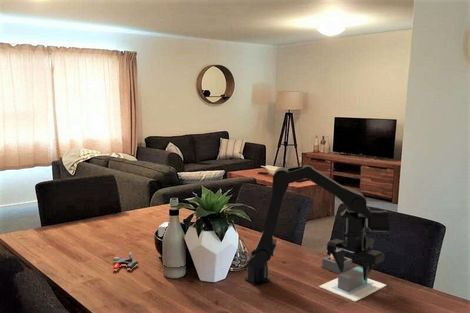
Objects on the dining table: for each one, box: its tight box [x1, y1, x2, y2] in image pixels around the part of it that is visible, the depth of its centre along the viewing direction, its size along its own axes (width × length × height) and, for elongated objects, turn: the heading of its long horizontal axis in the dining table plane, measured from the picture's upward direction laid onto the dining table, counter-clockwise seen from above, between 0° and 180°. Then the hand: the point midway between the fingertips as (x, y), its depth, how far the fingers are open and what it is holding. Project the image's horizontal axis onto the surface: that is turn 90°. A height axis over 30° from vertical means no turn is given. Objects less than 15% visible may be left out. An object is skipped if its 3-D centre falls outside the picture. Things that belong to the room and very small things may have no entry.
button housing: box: [320, 255, 354, 275], centre depth 160 cm, size 8×8×4 cm
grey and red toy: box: [112, 251, 139, 270], centre depth 160 cm, size 10×12×5 cm
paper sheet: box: [318, 277, 387, 303], centre depth 144 cm, size 18×14×1 cm
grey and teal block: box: [337, 266, 369, 292], centre depth 144 cm, size 11×4×4 cm, turn 130°
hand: (353, 275), depth 144 cm, fingers open, 9 cm apart
